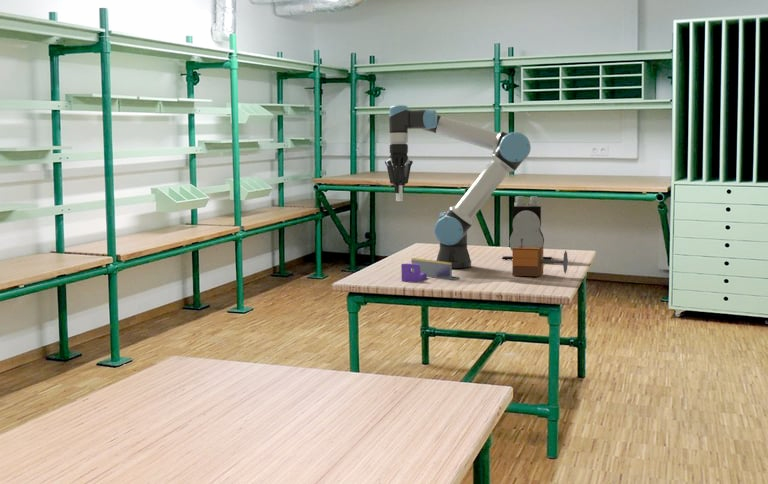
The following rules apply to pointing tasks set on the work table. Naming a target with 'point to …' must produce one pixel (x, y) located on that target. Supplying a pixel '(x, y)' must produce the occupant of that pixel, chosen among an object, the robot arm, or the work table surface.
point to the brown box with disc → (532, 261)
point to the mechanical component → (526, 224)
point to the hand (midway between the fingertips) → (399, 201)
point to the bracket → (411, 276)
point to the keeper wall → (435, 268)
